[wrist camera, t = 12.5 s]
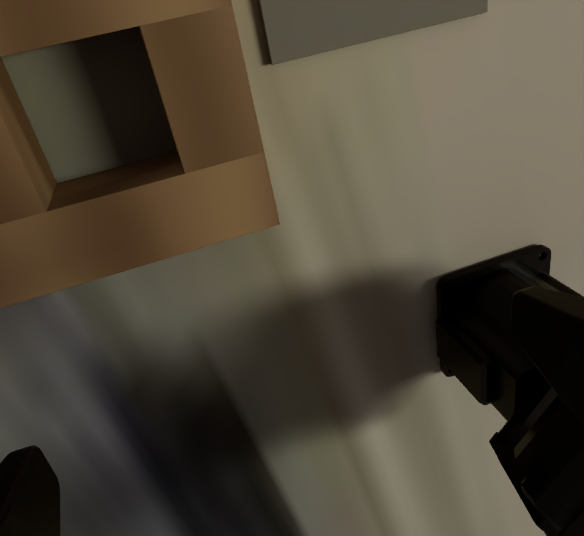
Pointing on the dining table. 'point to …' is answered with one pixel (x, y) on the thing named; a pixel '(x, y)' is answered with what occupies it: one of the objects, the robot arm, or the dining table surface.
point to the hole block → (138, 176)
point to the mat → (349, 22)
